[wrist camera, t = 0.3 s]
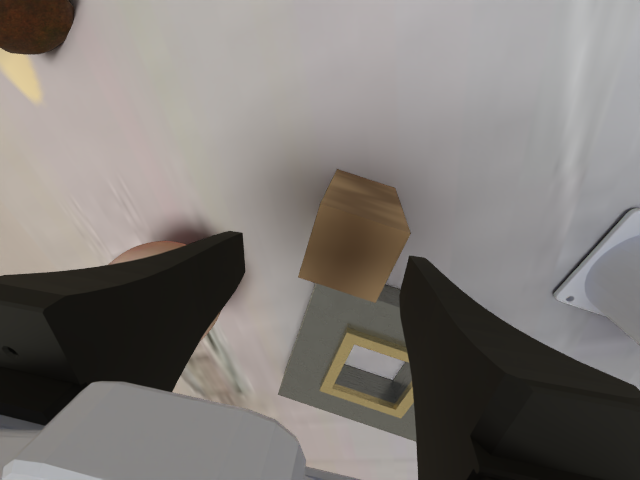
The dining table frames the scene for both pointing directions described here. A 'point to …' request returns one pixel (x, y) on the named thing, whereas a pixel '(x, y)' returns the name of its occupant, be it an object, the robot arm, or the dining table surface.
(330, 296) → the grey socket base
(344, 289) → the brown rectangular block
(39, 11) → the bolt
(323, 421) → the dining table surface
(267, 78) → the dining table surface
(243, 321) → the dining table surface
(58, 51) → the dining table surface
